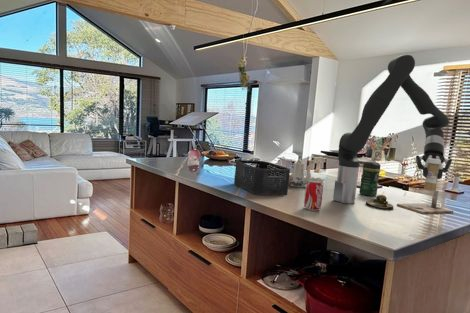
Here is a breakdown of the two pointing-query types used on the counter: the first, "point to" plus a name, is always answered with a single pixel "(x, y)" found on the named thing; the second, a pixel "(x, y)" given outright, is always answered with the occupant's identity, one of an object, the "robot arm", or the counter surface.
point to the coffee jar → (370, 178)
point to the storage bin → (262, 177)
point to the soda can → (313, 195)
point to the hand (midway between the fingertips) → (432, 177)
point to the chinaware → (300, 175)
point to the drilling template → (426, 206)
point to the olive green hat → (380, 202)
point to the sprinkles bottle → (432, 174)
